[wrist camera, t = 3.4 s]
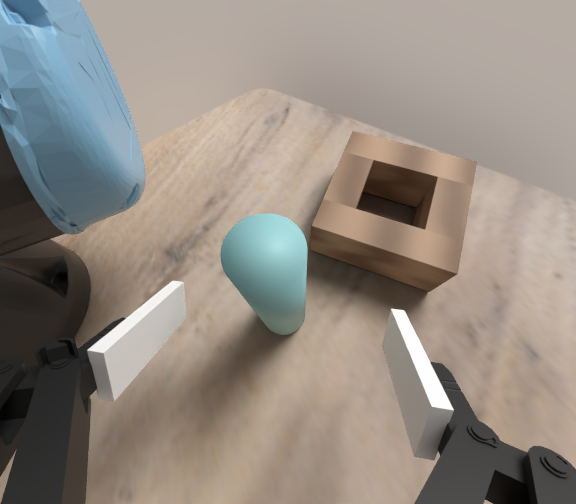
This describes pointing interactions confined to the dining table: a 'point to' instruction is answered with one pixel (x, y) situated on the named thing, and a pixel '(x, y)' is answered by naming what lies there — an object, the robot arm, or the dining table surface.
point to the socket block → (404, 189)
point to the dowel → (269, 269)
